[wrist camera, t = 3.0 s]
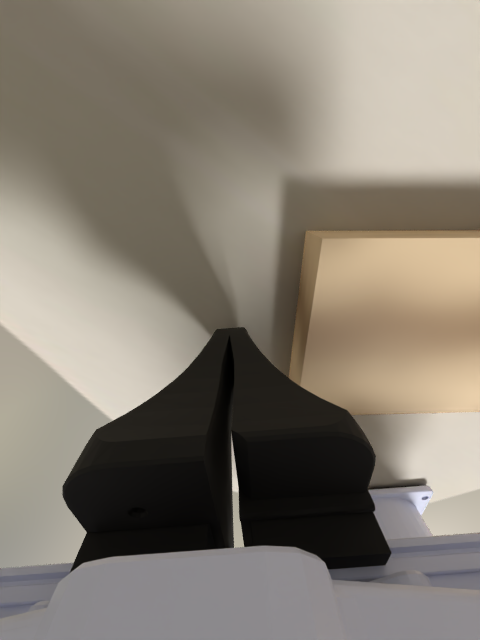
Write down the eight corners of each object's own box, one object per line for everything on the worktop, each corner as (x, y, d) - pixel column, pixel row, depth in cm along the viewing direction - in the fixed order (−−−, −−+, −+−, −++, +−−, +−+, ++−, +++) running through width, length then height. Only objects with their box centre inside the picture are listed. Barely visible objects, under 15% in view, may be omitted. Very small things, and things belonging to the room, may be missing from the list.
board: (498, 377, 15) (546, 410, 12) (285, 381, 14) (295, 416, 12) (593, 228, 11) (689, 237, 8) (303, 229, 10) (322, 238, 8)
